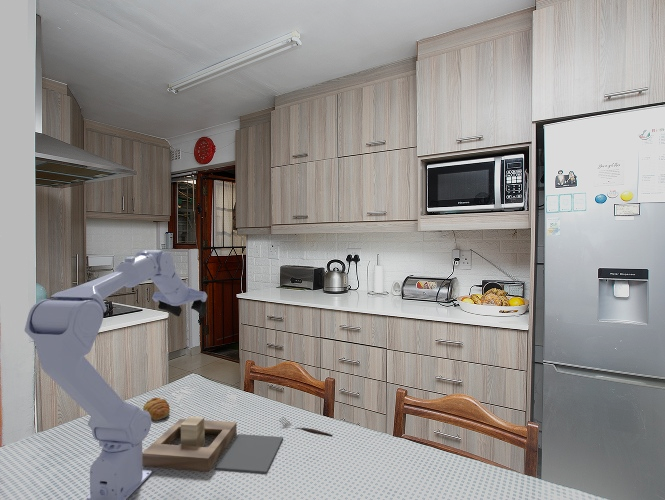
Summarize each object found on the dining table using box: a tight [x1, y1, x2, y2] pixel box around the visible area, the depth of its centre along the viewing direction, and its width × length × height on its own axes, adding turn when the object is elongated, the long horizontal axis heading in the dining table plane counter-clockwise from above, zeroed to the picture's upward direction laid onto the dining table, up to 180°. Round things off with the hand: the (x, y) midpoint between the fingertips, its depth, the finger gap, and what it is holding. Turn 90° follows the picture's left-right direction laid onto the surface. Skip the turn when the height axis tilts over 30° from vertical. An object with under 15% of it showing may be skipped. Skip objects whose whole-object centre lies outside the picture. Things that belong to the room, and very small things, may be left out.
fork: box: [278, 416, 333, 437], centre depth 97 cm, size 3×16×2 cm, turn 66°
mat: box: [214, 433, 284, 474], centre depth 86 cm, size 14×12×1 cm
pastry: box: [142, 397, 171, 421], centre depth 106 cm, size 9×7×4 cm
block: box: [180, 415, 206, 447], centre depth 88 cm, size 4×4×7 cm
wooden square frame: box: [142, 418, 238, 472], centre depth 88 cm, size 16×16×3 cm
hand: (192, 313), depth 102 cm, fingers open, 7 cm apart
